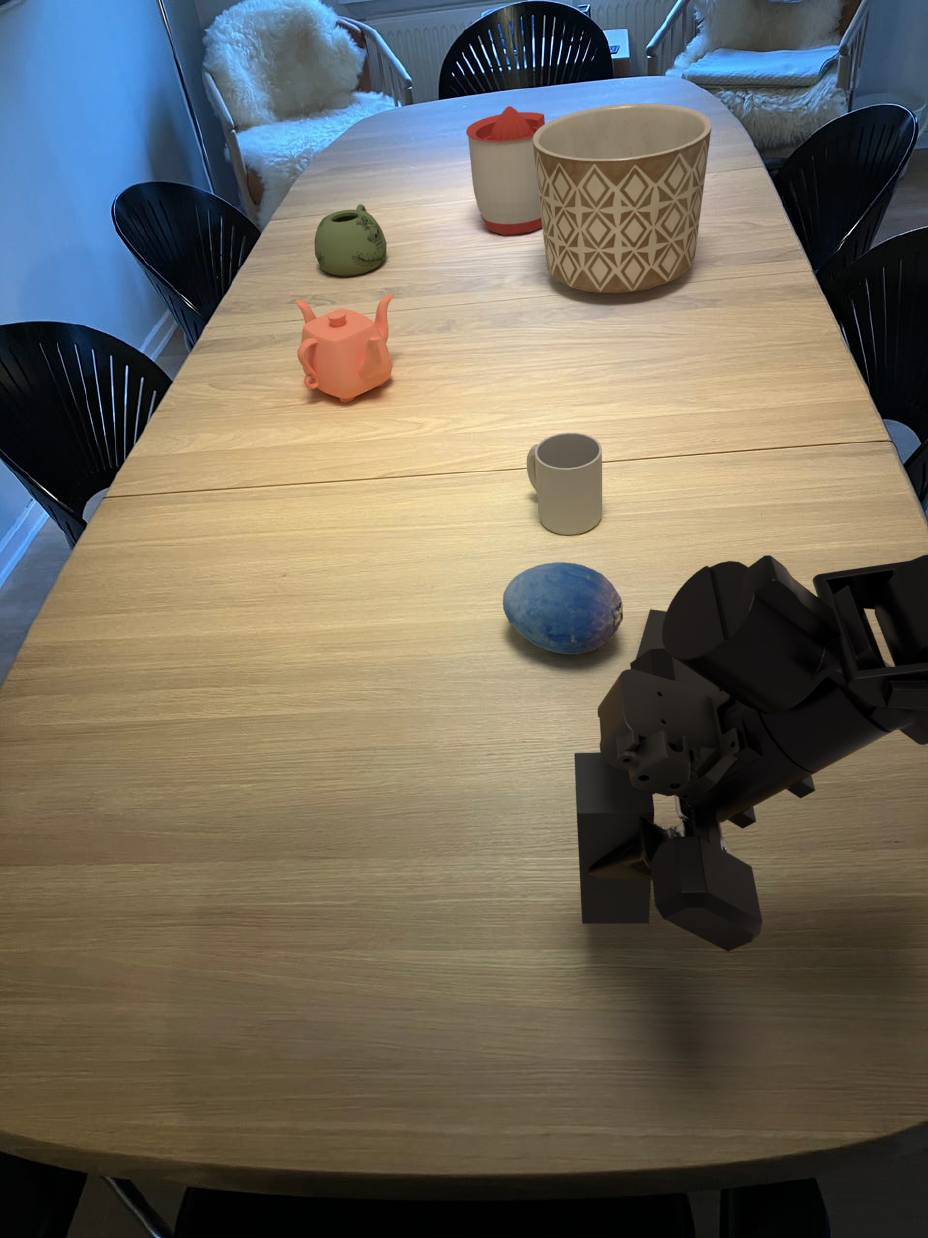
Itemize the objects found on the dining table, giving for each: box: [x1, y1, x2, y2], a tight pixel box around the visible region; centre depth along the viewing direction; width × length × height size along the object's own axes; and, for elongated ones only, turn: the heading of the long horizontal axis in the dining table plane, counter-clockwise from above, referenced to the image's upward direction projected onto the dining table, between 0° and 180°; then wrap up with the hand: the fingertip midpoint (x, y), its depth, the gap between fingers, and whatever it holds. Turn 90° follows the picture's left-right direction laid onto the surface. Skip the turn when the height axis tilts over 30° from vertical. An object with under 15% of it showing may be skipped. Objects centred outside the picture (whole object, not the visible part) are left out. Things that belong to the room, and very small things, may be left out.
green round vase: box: [314, 203, 388, 277], centre depth 164 cm, size 16×13×9 cm
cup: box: [525, 432, 603, 536], centre depth 103 cm, size 7×10×9 cm
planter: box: [533, 103, 712, 296], centre depth 144 cm, size 26×26×22 cm
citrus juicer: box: [465, 105, 546, 236], centre depth 165 cm, size 16×17×20 cm
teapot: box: [295, 293, 394, 403], centre depth 130 cm, size 14×14×11 cm
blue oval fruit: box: [502, 561, 624, 655], centre depth 88 cm, size 9×9×15 cm
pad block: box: [573, 751, 655, 925], centre depth 60 cm, size 4×4×13 cm
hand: (592, 841), depth 60 cm, fingers closed on pad block, 4 cm apart
